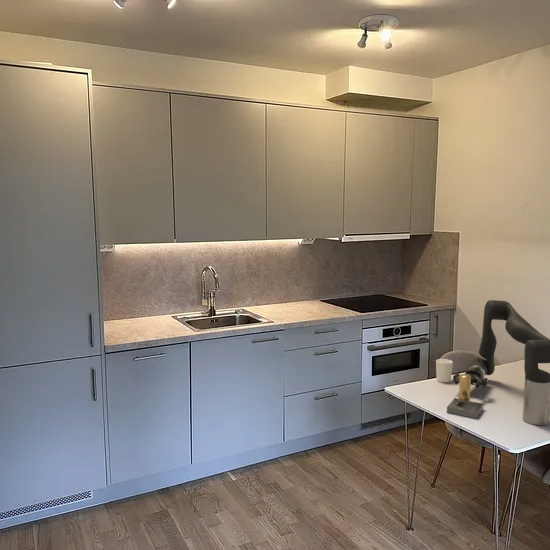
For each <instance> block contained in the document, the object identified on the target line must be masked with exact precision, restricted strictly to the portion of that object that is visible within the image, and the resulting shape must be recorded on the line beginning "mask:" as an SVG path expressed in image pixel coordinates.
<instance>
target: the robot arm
mask: <svg viewBox="0 0 550 550" xmlns="http://www.w3.org/2000/svg"><path fill="white" fill-rule="evenodd" d="M483 309H484V311H483V322H482V336H481V341H480V345H479V350H478V354H479V356H480V357H475V358H474V359H472V363H471V367H469V368H468V369H467V370H466V371H465V373H464V374H467V375H470V376H471V385H470V386H475V389H479V388H480V387H483V388H485V387H487V385H488V377H485V376H491V375H493V374H494V372H495V351H496V347H497V343H498V342H497V336H496V335H495V332H494V330H493V327H492V321H494V320H495V321H497V320H498V321H505V331H506V332H507V334H508V335H509V336H510V337H511V338H512V339H513V340H515V341H516V342H518V343H521V344H522V345H524V353H523V354H524V356H523V357H524V367H523V368H524V388H523V406H522V420H523V421H524V422H526V423H528V424H530V425H535V426H547V427H548V425H549V422H550V372H548V371H546V370H543V369H541V368H539V364H550V338H548V337H547V336H545V335H544V334H542V333H540V332H539V331H538V330H537V329H536V328H535V327H534V326H533V325H532V324H531V323H530V322H528V321H527V320H526V319H525V318H523V316H521V315H520V314H519V313H518V312H517V310H516V309H515V308H514V307H513V305H512V304H511V303H510V302H508V301H506V300H498V299H497V300H495V299H490V300H487V302H486V303H485V305H484V308H483ZM460 375H461V374H460V373H459V372H457V373H456V372H455V374H454V375H453V376H452V382H454V384H455V385H458V386H459V381H460Z"/></svg>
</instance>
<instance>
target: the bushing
mask: <svg viewBox="0 0 550 550" xmlns="http://www.w3.org/2000/svg"><path fill="white" fill-rule="evenodd" d="M458 386H459V387H458V399H461V400H467V401H471V386H472V385H471V376H470V375H467V374H465V373H462V374H460V380H459V384H458Z"/></svg>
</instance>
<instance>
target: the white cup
mask: <svg viewBox="0 0 550 550" xmlns="http://www.w3.org/2000/svg"><path fill="white" fill-rule="evenodd" d="M435 372H436V381H437V382H440V383H450V382H451V381H452V373H453V361H452V360H451V359H447V358H439V359H436V360H435Z"/></svg>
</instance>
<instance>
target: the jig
mask: <svg viewBox="0 0 550 550" xmlns="http://www.w3.org/2000/svg"><path fill="white" fill-rule="evenodd" d="M484 407H485V406H484V403H481V402H476V401H472V400H470V401H467V400H461V399H459V398H453V399H452V400H451V402H450V403H449V404H448V405H447V406H446V413H448V414H452V415H456V416H461V417H465V418H471V419H476V420H477V419H478V418H479V416H480V413H481V414H482V412H483V411H484Z"/></svg>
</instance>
